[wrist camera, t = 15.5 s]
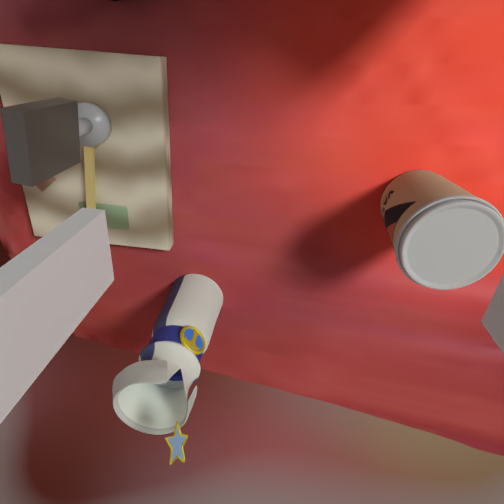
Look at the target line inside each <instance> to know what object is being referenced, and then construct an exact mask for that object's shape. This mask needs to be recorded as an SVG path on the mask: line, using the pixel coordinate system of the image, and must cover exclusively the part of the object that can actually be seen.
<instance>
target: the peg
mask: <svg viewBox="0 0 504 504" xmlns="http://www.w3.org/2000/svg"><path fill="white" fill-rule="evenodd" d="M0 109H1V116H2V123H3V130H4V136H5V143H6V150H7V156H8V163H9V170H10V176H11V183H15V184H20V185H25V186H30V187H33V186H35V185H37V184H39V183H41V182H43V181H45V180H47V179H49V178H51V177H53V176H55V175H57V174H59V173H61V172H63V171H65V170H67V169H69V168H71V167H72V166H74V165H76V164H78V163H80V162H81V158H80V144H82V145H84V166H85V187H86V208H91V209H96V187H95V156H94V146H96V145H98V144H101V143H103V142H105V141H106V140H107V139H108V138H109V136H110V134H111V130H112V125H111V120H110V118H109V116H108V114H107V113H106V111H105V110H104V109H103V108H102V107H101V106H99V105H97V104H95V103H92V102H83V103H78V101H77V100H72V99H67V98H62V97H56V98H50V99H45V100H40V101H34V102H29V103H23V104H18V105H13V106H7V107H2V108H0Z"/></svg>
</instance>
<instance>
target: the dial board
mask: <svg viewBox="0 0 504 504" xmlns="http://www.w3.org/2000/svg"><path fill="white" fill-rule="evenodd" d="M0 95H1V99H2V103H3V107H7V106H13V105H18V104H23V103H29V102H34V101H40V100H45V99H50V98H56V97H62V98H67V99H72V100H77V101H78V103H83V102H92V103H95V104H97V105H99V106H101V107H102V108H103V109H104V110H105V111H106V113H107V114H108V116H109V118H110V120H111V125H112V130H111V134H110V136H109V138H108V139H107V140H106V141H105V142H103V143H101V144H98V145H96V146H94V156H95V187H96V209H101V210H105V214H106V222H107V229H108V237H109V244H114V245H123V246H133V247H142V248H151V249H160V250H170V249H171V247H172V245H173V244H174V238H173V212H172V186H171V160H170V134H169V108H168V82H167V57H162V56H149V55H137V54H124V53H112V52H99V51H87V50H74V49H62V48H49V47H37V46H24V45H12V44H0ZM80 158H81V162H80V163H78V164H76V165H74V166H72V167H71V168H69V169H67V170H65V171H63V172H61V173H59V174H57V175H55V176H53V177H51V178H49V179H47V180H45V181H43V182H41V183H39V184H37V185H35V186H33V187H30V186H25V185H22V186H23V190H24V194H25V198H26V202H27V207H28V211H29V215H30V219H31V223H32V227H33V232H34V236H40V237H43V236H44V235H46V234H47V233H49V232H50V231H51V230H53V229H54V228H55V227H57V226H58V225H59V224H61V223H62V222H64V221H65V220H66V219H68V218H69V217H70V216H72V215H73V214H74V213H76V212H77V211H79V210H80V209H81V208H86V187H85V166H84V145H82V144H80Z"/></svg>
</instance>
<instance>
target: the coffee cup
mask: <svg viewBox="0 0 504 504" xmlns="http://www.w3.org/2000/svg"><path fill="white" fill-rule="evenodd" d="M380 208H381V214H382V217H383V220H384V223H385V226H386V229H387V232H388V235H389V237H390V240H391V243H392V246H393V248H394V251H395V256H396V260H397V263H398V265H399V267H400V269H401V270H402V272H403V273H404V274H405V275H406V276H407V277H408V278H409V279H411V280H412V281H414V282H415V283H417V284H420V285H422V286H425V287H428V288H432V289H439V290H447V289H456V288H460V287H464V286H467V285H469V284H472V283H474V282H476V281H478V280H479V279H481V278H483V277H484V276H485V275H487V274H488V273H489V272H490V271H491V270H492V269H493V268H494V267H495V266H496V265H497V263H498V262H499V260H500V259H501V257H502V255H503V253H504V219H503V217H502V215H501V214H500V212H499V211H498V210H497V209H496V208H495V207H494V206H493V205H491V204H490V203H488V202H487V201H485V200H483V199H481V198H478V197H476V196H474V195H473V194H471V193H469V192H468V191H466V190H464V189H463V188H461V187H459V186H458V185H456V184H454V183H452V182H451V181H449V180H447V179H446V178H444V177H442V176H440V175H438V174H436V173H434V172H432V171H428V170H413V171H409V172H406V173H403V174H401V175H399V176H398V177H396V178H395V179H394V180H393V181H391V182H390V183H389V185H388V186H387V187H386V189H385V190H384V192H383V195H382V198H381V203H380Z"/></svg>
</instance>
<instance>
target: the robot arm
mask: <svg viewBox="0 0 504 504" xmlns="http://www.w3.org/2000/svg"><path fill="white" fill-rule="evenodd" d="M113 281H114V274H113V267H112V259H111V252H110V244H109V237H108V229H107V222H106V214H105V210H101V209H91V208H81V209H80V210H79V211H77V212H76V213H74V214H73V215H72V216H70V217H69V218H68V219H66V220H65V221H64V222H62V223H61V224H59V225H58V226H57V227H55V228H54V229H53V230H51V231H50V232H49V233H47V234H46V235H44V236H43V237H42V238H40V239H39V240H38V241H36V242H35V243H33V244H32V245H31V246H29V247H28V248H27V249H25V250H24V251H23V252H21V253H20V254H18V255H17V256H16V257H14V258H13V259H12V260H10V261H9V262H8V263H6V264H5V265H3V266H2V267H1V268H0V424H1V422H2V421H3V420H4V418H5V417H6V416H7V415H8V413H9V412H10V411H11V410H12V408H13V407H14V406H15V405H16V403H17V402H18V401H19V400H20V398H21V397H22V396H23V394H24V393H25V392H26V390H27V389H28V388H29V387H30V386H31V384H32V383H33V382H34V381H35V379H36V378H37V377H38V375H39V374H40V373H41V372H42V370H43V369H44V368H45V367H46V365H47V364H48V363H49V361H50V360H51V359H52V358H53V356H54V355H55V354H56V353H57V351H58V350H59V349H60V347H61V346H62V345H63V344H64V342H65V341H66V340H67V339H68V338H69V336H70V335H71V334H72V333H73V331H74V330H75V329H76V327H77V326H78V325H79V324H80V322H81V321H82V320H83V319H84V317H85V316H86V315H87V314H88V312H89V311H90V310H91V308H92V307H93V306H94V305H95V303H96V302H97V301H98V300H99V298H100V297H101V296H102V295H103V293H104V292H105V291H106V290H107V288H108V287H109V286H110V284H111V283H112V282H113ZM481 322H482V324H483V325H484V326H485V328H486V329H487V331H488V332H489V334H490V335H491V336H492V338H493V339H494V341H495V342H496V343H497V345H498V346H499V348H500V349H501V351H502V352H503V353H504V274H503V276H502V278H501V280H500V282H499V284H498V287H497V289H496V291H495V293H494V295H493V297H492V299H491V302H490V304H489V306H488V308H487V310H486V312H485V314H484V316H483V319H482V321H481Z"/></svg>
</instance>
